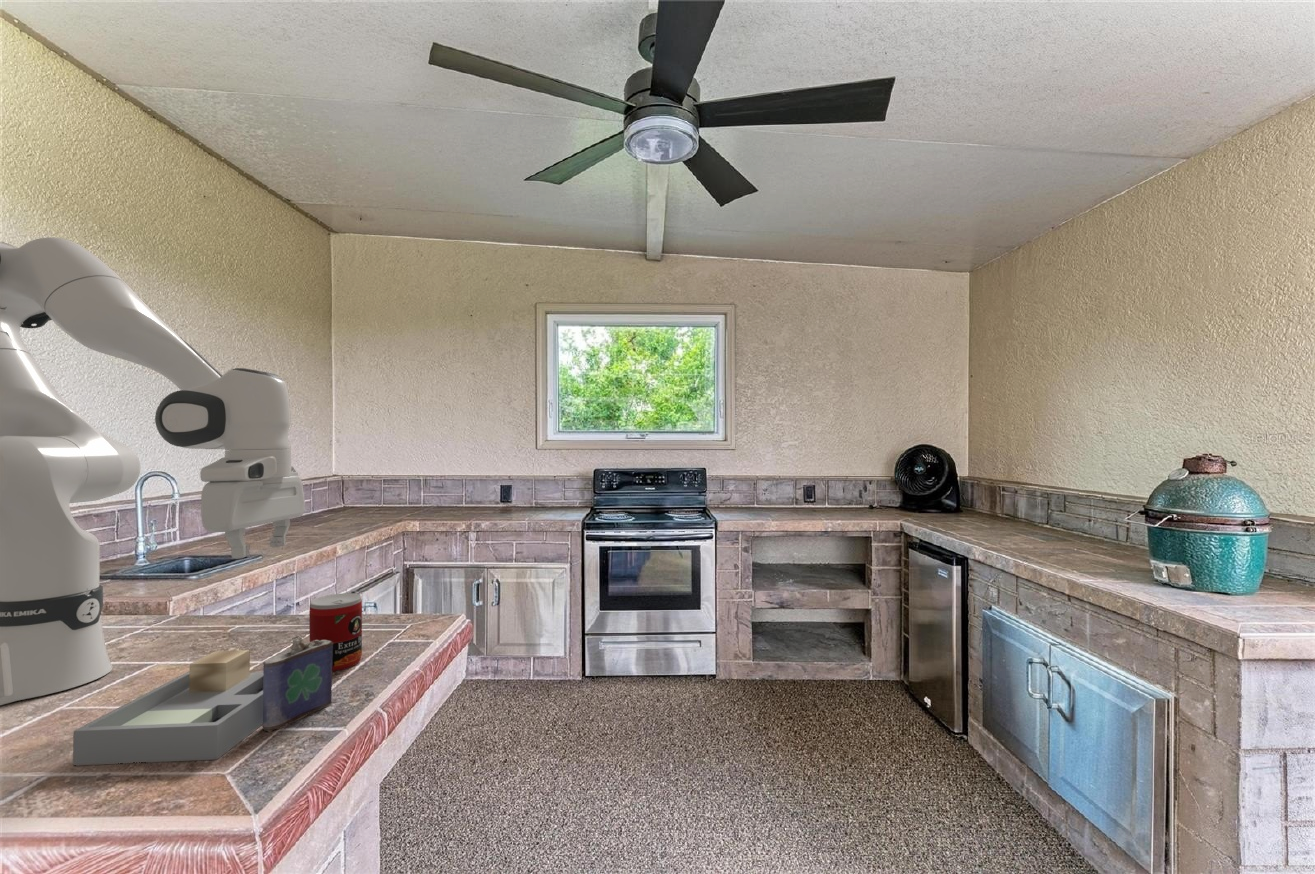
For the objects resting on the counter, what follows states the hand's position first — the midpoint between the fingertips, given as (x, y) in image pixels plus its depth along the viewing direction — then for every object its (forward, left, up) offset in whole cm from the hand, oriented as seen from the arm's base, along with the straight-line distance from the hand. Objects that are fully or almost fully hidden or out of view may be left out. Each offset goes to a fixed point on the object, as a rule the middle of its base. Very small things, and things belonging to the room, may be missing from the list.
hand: (260, 552), depth 90 cm
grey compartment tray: (+3, -15, -20) cm, 25 cm away
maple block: (0, -8, -18) cm, 20 cm away
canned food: (+10, +4, -20) cm, 23 cm away
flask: (+15, -15, -20) cm, 29 cm away
